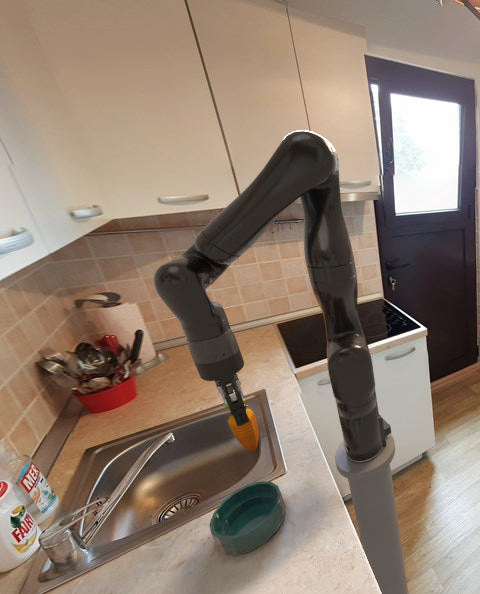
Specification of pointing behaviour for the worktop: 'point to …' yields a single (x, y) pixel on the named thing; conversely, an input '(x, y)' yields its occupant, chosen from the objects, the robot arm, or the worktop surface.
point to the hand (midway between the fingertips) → (240, 416)
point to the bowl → (248, 518)
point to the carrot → (245, 430)
